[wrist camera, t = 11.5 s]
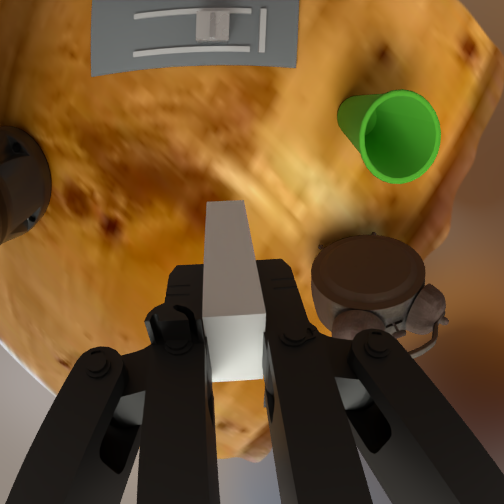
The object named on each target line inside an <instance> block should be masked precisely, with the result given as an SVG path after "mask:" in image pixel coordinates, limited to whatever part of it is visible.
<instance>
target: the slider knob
mask: <svg viewBox="0 0 504 504" xmlns="http://www.w3.org/2000/svg"><path fill="white" fill-rule="evenodd" d="M229 17H230V11H197V16H196V41H197V43H227V42H228V40H229Z"/></svg>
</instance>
